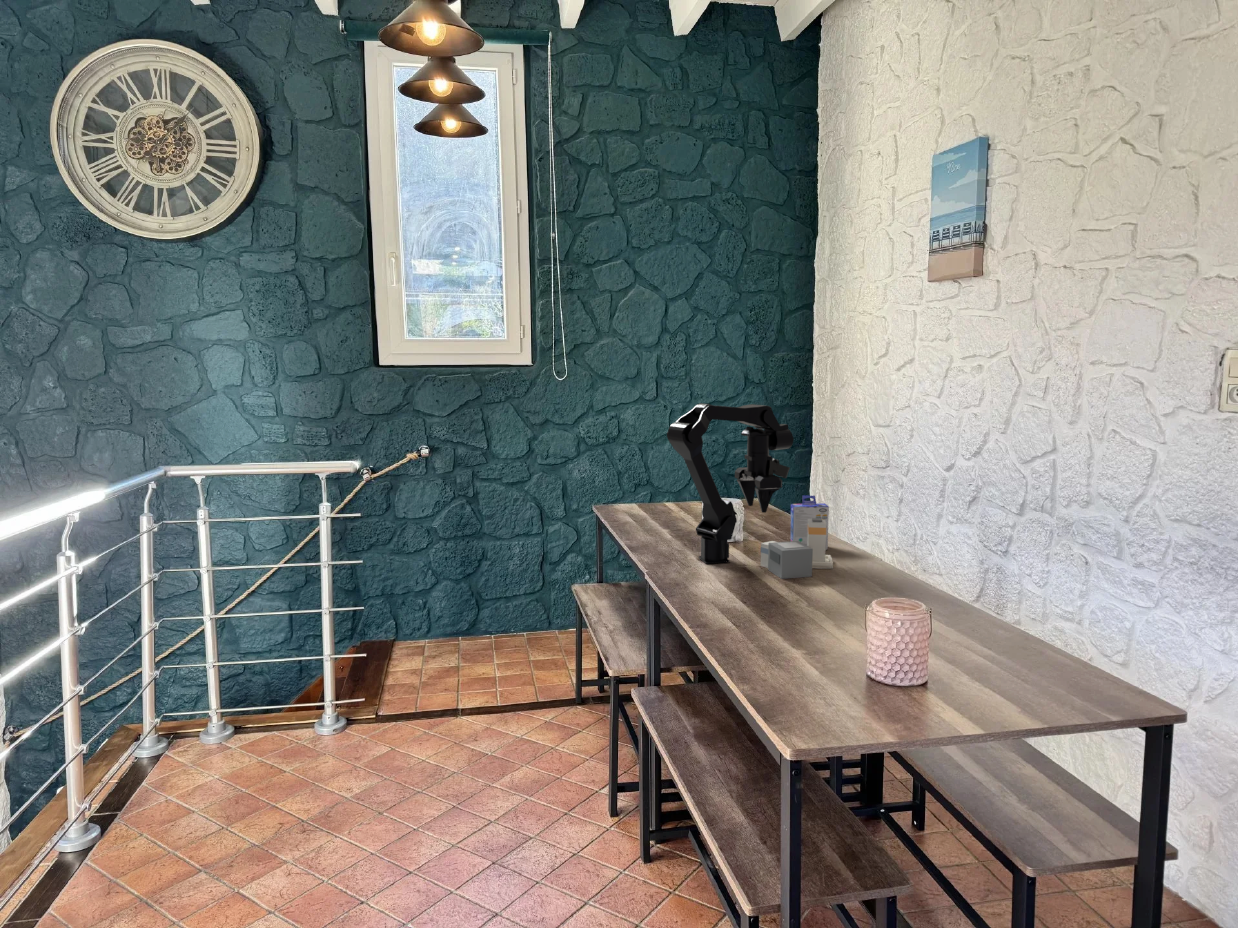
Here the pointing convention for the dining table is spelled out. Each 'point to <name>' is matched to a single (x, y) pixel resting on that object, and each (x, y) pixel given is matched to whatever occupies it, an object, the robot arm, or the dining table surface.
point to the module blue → (765, 553)
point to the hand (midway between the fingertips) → (757, 509)
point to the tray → (824, 563)
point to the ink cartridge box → (805, 512)
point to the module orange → (817, 538)
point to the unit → (790, 559)
